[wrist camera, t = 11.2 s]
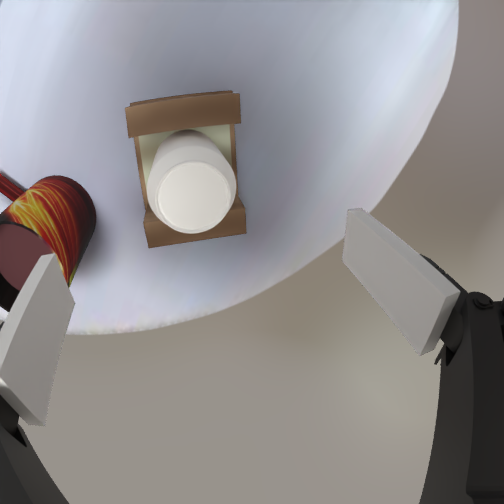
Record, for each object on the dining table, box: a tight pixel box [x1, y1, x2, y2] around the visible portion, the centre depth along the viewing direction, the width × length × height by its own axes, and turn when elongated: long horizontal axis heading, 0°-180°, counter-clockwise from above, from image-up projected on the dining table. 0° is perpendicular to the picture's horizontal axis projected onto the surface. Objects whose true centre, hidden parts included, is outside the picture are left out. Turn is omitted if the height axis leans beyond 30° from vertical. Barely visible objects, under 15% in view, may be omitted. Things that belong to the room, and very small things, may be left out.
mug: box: [0, 174, 96, 312], centre depth 23 cm, size 10×14×12 cm
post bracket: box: [125, 91, 246, 248], centre depth 27 cm, size 13×10×7 cm
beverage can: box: [147, 130, 236, 234], centre depth 24 cm, size 6×6×12 cm
